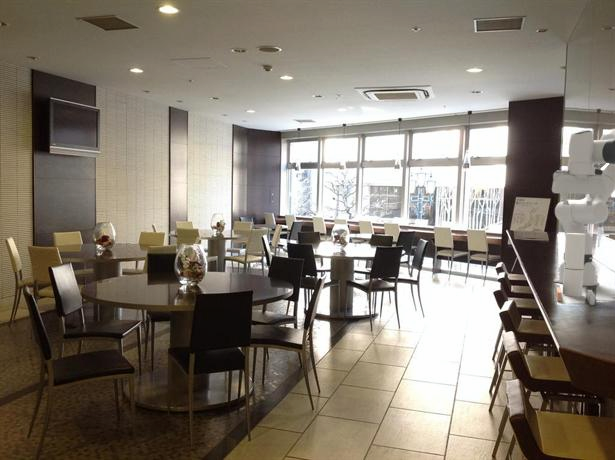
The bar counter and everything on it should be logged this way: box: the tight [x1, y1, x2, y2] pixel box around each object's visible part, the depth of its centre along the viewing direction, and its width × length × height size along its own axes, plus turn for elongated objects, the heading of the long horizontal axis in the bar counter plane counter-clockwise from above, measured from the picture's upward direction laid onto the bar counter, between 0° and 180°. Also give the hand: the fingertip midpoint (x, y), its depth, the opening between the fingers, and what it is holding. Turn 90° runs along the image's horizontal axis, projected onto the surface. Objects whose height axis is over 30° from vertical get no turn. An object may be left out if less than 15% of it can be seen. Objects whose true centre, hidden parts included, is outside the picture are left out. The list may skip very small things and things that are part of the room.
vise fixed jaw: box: [586, 289, 596, 306], centre depth 204 cm, size 14×1×4 cm, turn 157°
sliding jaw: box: [554, 284, 563, 302], centre depth 212 cm, size 21×1×3 cm, turn 157°
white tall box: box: [562, 233, 586, 298], centre depth 218 cm, size 7×7×25 cm
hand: (577, 205), depth 216 cm, fingers open, 8 cm apart
